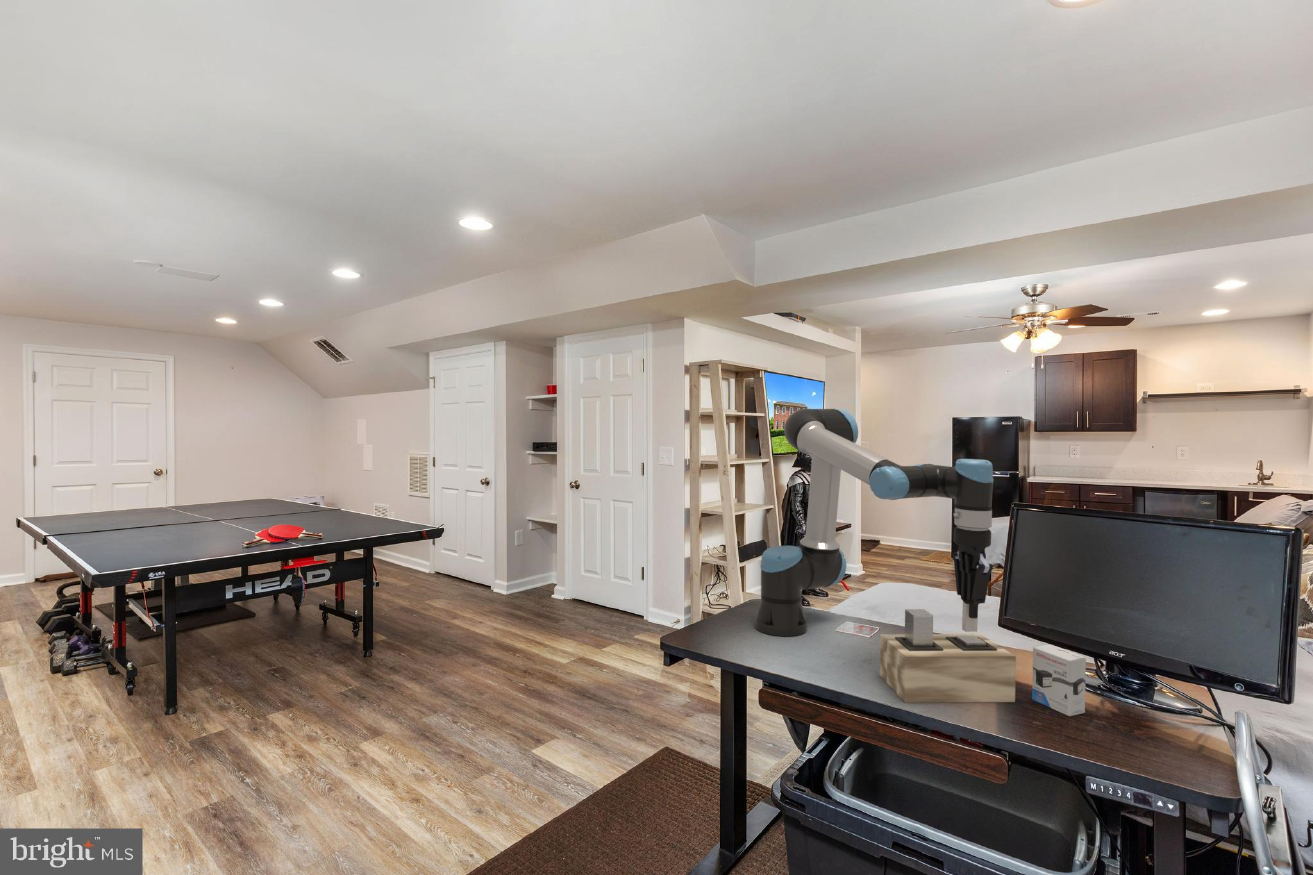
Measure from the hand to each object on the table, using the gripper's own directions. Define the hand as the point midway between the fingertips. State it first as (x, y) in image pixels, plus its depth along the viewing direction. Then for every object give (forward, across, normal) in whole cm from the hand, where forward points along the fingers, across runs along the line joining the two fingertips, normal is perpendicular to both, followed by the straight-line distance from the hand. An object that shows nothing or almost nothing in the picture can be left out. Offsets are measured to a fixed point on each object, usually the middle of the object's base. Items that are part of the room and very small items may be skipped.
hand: (969, 630), depth 138 cm
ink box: (+13, +10, +14) cm, 22 cm away
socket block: (+13, 0, -6) cm, 14 cm away
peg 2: (+11, 0, 0) cm, 11 cm away
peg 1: (+5, 0, -12) cm, 13 cm away
